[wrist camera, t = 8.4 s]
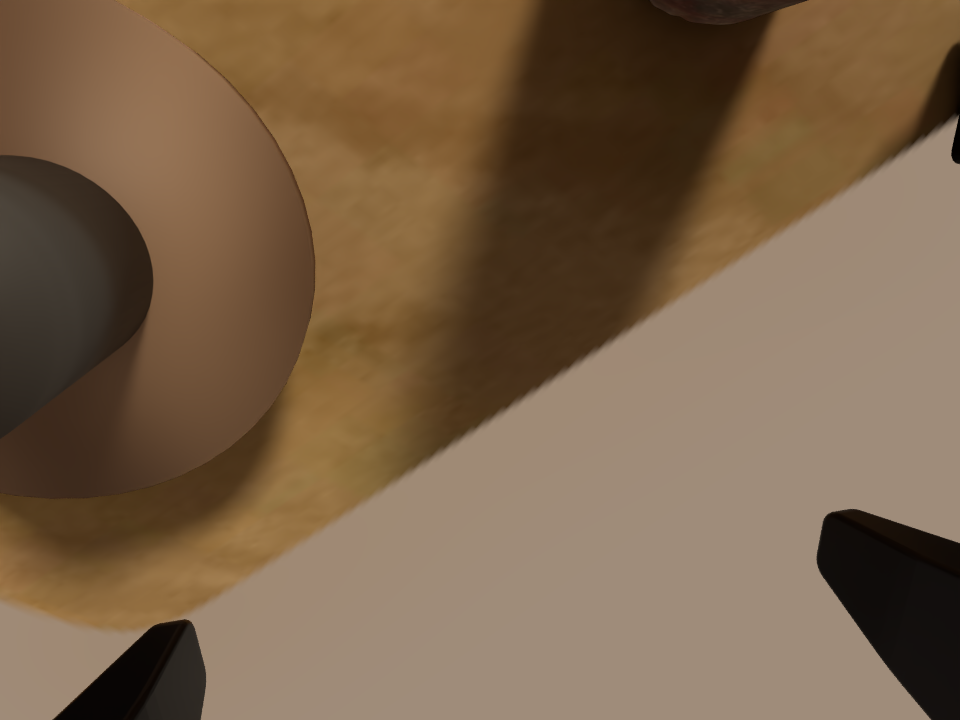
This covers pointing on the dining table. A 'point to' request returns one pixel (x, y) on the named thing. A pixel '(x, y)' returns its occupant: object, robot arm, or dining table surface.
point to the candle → (721, 9)
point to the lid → (135, 254)
